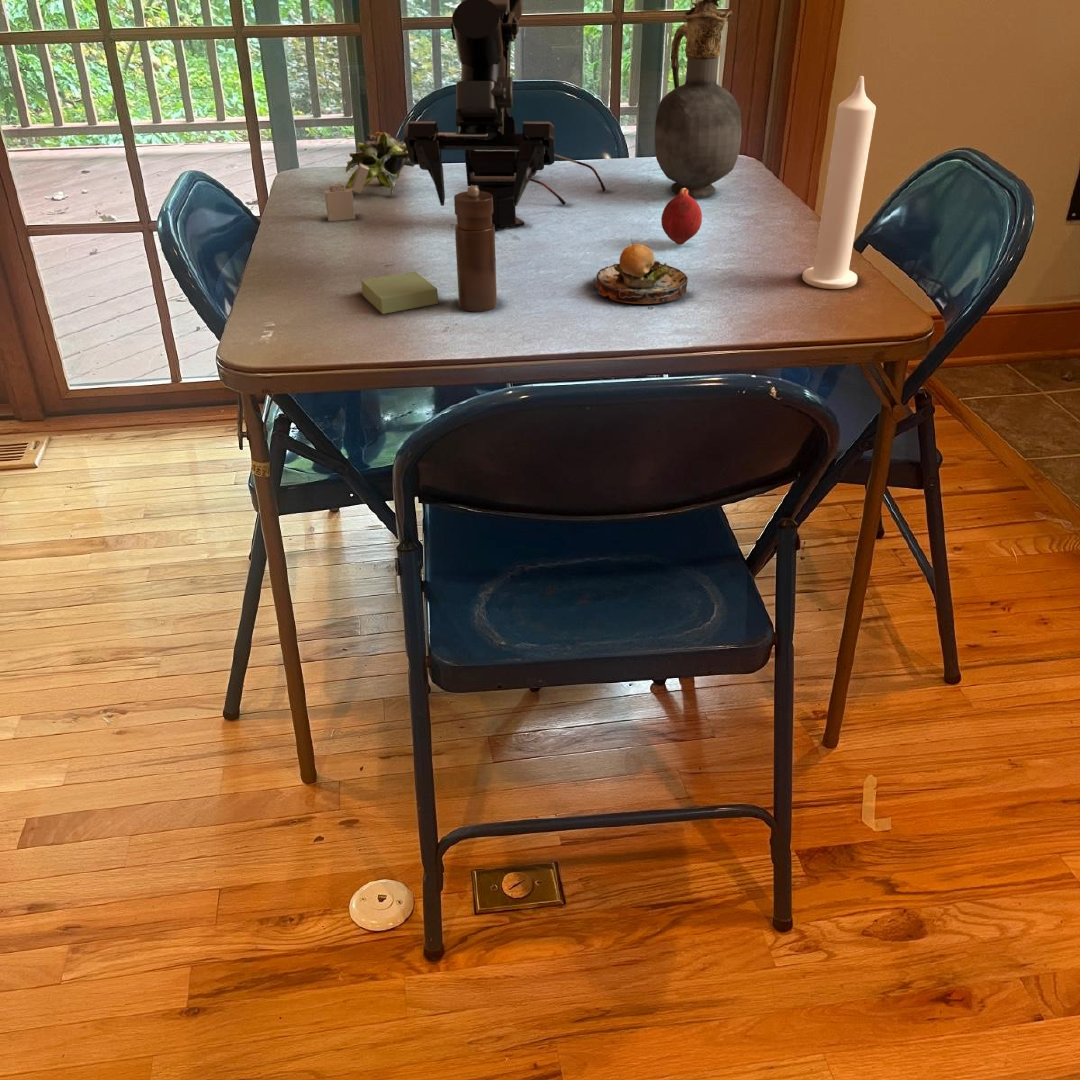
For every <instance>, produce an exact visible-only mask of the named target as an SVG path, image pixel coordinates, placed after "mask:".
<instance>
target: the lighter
mask: <svg viewBox="0 0 1080 1080" xmlns="http://www.w3.org/2000/svg"><path fill="white" fill-rule="evenodd" d="M356 170H357V172H356V175H355V178H354V181H353V184H352V186H351V189H346V188H345V184H344V182H342V183H341V182H339V183H332V184H330V185H329V187H328V189H325V190H324V200H325V208H326V215H327V220H328V222H337V221H338V222H339V221H348V220H349V221H350V220H355V219H356V214H355V213H356V212H355V206H354V205H355V203H354V195H353V192H354V193H356V194H357V195H358V194H359V195H361V193H362V190H363V188H364V186H363V185H364V182H365V180H366V177H367V174H368V171H369V167H368V166H366V165H363V164H361V163H360V164H359V165H358V167H357V168H356Z"/></svg>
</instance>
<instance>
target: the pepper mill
mask: <svg viewBox="0 0 1080 1080" xmlns="http://www.w3.org/2000/svg"><path fill="white" fill-rule="evenodd" d="M453 204H454V214H455V216H456V224H455V225H454V236H455V237H454V238H455V257H456V259H455V260H456V274H457V276H456V277H457V278H456V279H457V296H458V307H459V308H460V309H461V310H463V311H467V312H472V313H481V312H488V311H491V310H493V309H495V308H497V305H498V296H497V292H498V291H497V264H496V263H497V262H496V260H497V259H496V230H495V226H494V224H493V223H492V214H493V196H492V194H490V193H488V192H483V191H479V189H478V186H468V188H467V191H461V192H459V193H457V194H455V195H454V196H453Z"/></svg>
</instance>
